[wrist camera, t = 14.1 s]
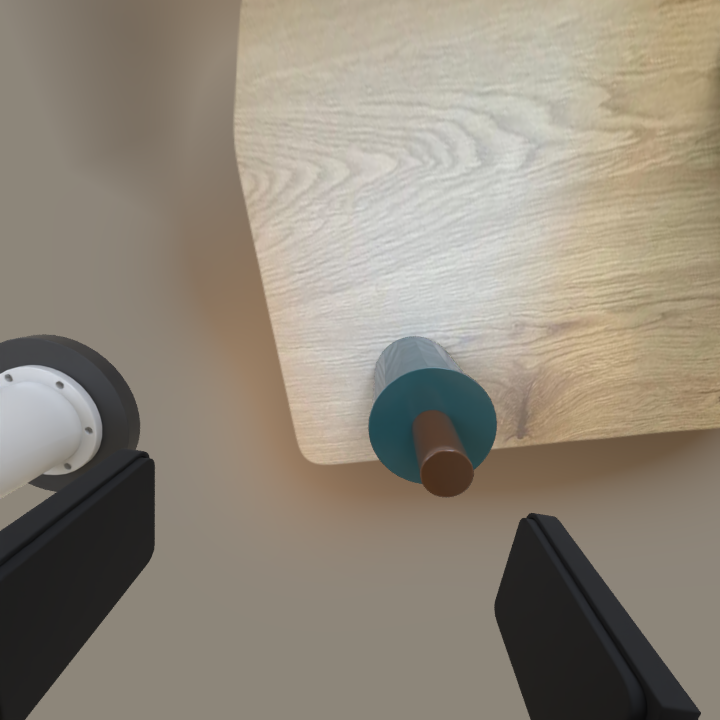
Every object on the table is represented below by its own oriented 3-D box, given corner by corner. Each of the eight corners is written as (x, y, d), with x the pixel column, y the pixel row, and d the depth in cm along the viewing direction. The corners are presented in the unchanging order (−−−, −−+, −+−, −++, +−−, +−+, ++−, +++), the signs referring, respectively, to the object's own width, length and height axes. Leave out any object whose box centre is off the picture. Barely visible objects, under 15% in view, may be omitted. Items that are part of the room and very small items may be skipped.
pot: (370, 404, 37) (365, 468, 25) (380, 331, 35) (380, 362, 23) (444, 415, 37) (475, 484, 25) (459, 342, 35) (500, 379, 23)
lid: (361, 467, 26) (355, 531, 19) (377, 355, 24) (376, 386, 17) (477, 483, 26) (510, 554, 19) (504, 372, 23) (550, 410, 17)
